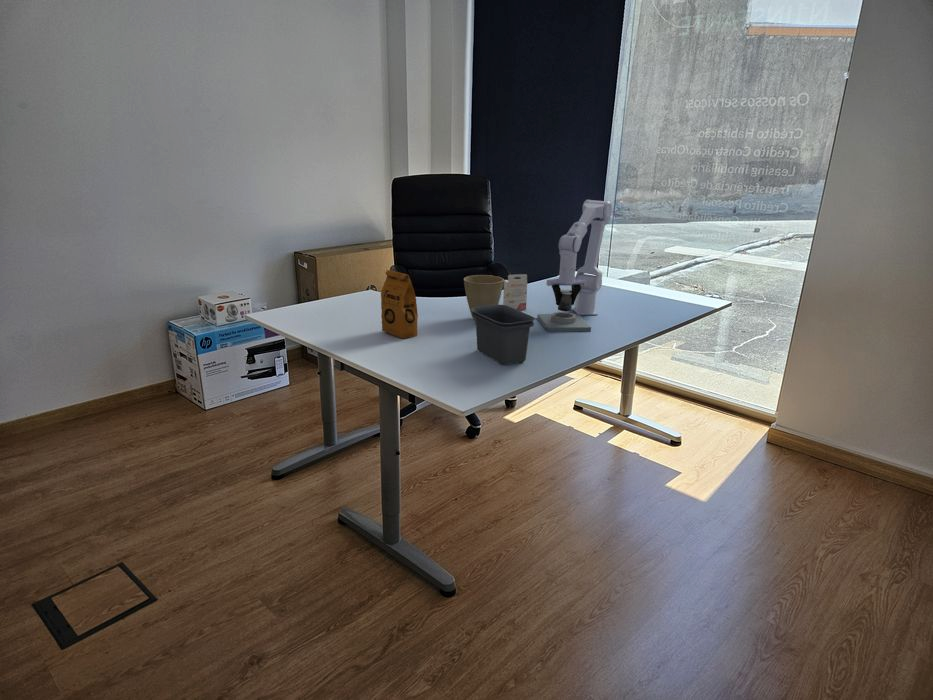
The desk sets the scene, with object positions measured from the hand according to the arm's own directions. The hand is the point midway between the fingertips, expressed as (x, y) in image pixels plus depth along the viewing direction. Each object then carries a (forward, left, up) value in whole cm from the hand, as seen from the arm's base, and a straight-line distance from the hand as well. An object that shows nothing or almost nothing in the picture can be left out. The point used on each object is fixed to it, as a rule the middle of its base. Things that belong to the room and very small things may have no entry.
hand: (564, 304), depth 224 cm
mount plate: (0, 0, -8) cm, 8 cm away
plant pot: (-6, -30, -8) cm, 32 cm away
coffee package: (+11, -61, -8) cm, 62 cm away
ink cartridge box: (-22, -15, -8) cm, 28 cm away
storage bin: (+34, -28, -8) cm, 45 cm away
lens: (0, 0, -2) cm, 2 cm away
